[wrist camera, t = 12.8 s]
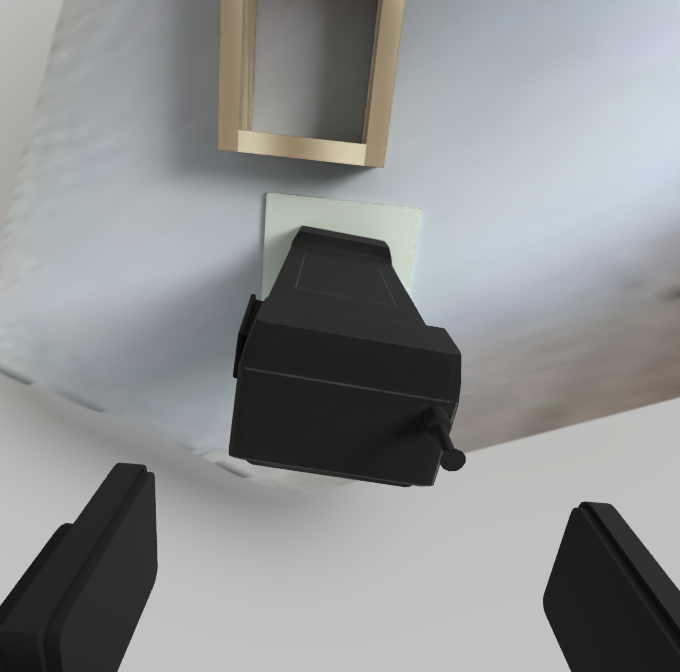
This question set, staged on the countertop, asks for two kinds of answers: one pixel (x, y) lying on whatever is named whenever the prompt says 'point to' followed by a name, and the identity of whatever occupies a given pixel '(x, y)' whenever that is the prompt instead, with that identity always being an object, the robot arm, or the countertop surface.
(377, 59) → the wooden pocket
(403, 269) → the rubber mat
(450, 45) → the countertop surface
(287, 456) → the portable radio
